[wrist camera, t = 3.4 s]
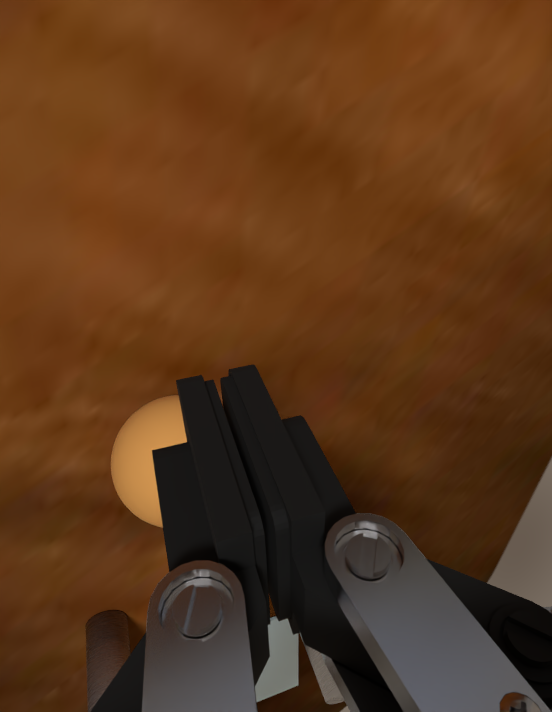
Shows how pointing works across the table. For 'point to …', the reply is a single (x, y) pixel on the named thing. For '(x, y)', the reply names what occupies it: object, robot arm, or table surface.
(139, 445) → the ball
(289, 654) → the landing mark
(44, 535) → the table surface
